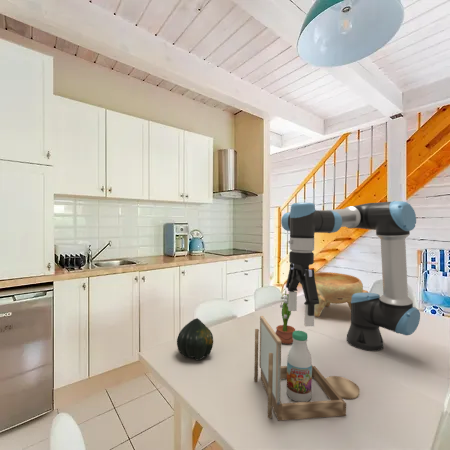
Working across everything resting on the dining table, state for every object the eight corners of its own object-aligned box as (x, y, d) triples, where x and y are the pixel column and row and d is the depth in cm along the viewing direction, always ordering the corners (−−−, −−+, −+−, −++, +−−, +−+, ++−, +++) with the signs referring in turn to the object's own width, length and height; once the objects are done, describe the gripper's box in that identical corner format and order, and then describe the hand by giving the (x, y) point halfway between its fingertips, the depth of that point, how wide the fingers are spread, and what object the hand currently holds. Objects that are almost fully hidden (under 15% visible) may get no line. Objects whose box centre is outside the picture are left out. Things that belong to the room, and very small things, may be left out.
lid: (262, 366, 94) (262, 316, 94) (280, 404, 74) (281, 341, 74) (259, 366, 93) (260, 316, 93) (276, 405, 74) (277, 341, 74)
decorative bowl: (290, 306, 176) (291, 272, 176) (335, 303, 185) (336, 270, 185) (322, 326, 143) (323, 283, 143) (375, 320, 152) (375, 280, 152)
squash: (188, 356, 97) (207, 318, 105) (164, 345, 108) (183, 311, 115) (209, 371, 105) (225, 335, 113) (185, 359, 115) (202, 326, 123)
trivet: (347, 378, 95) (347, 375, 95) (367, 398, 84) (367, 395, 84) (317, 379, 93) (317, 376, 93) (334, 400, 82) (334, 397, 82)
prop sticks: (257, 380, 93) (258, 328, 92) (272, 418, 74) (273, 354, 74) (253, 380, 92) (254, 328, 92) (268, 418, 74) (269, 354, 74)
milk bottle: (283, 388, 88) (284, 328, 88) (305, 387, 89) (306, 327, 89) (291, 403, 81) (292, 338, 80) (315, 402, 81) (316, 337, 81)
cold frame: (314, 375, 96) (314, 363, 96) (346, 415, 76) (346, 399, 76) (260, 378, 94) (260, 365, 94) (278, 420, 74) (278, 404, 74)
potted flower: (297, 348, 117) (298, 291, 117) (274, 346, 119) (275, 290, 119) (295, 337, 128) (296, 285, 128) (274, 335, 130) (275, 284, 130)
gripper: (277, 247, 97) (276, 305, 97) (306, 255, 72) (304, 334, 72) (297, 247, 97) (296, 305, 97) (332, 256, 73) (331, 333, 73)
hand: (300, 317), depth 85 cm, fingers open, 13 cm apart
